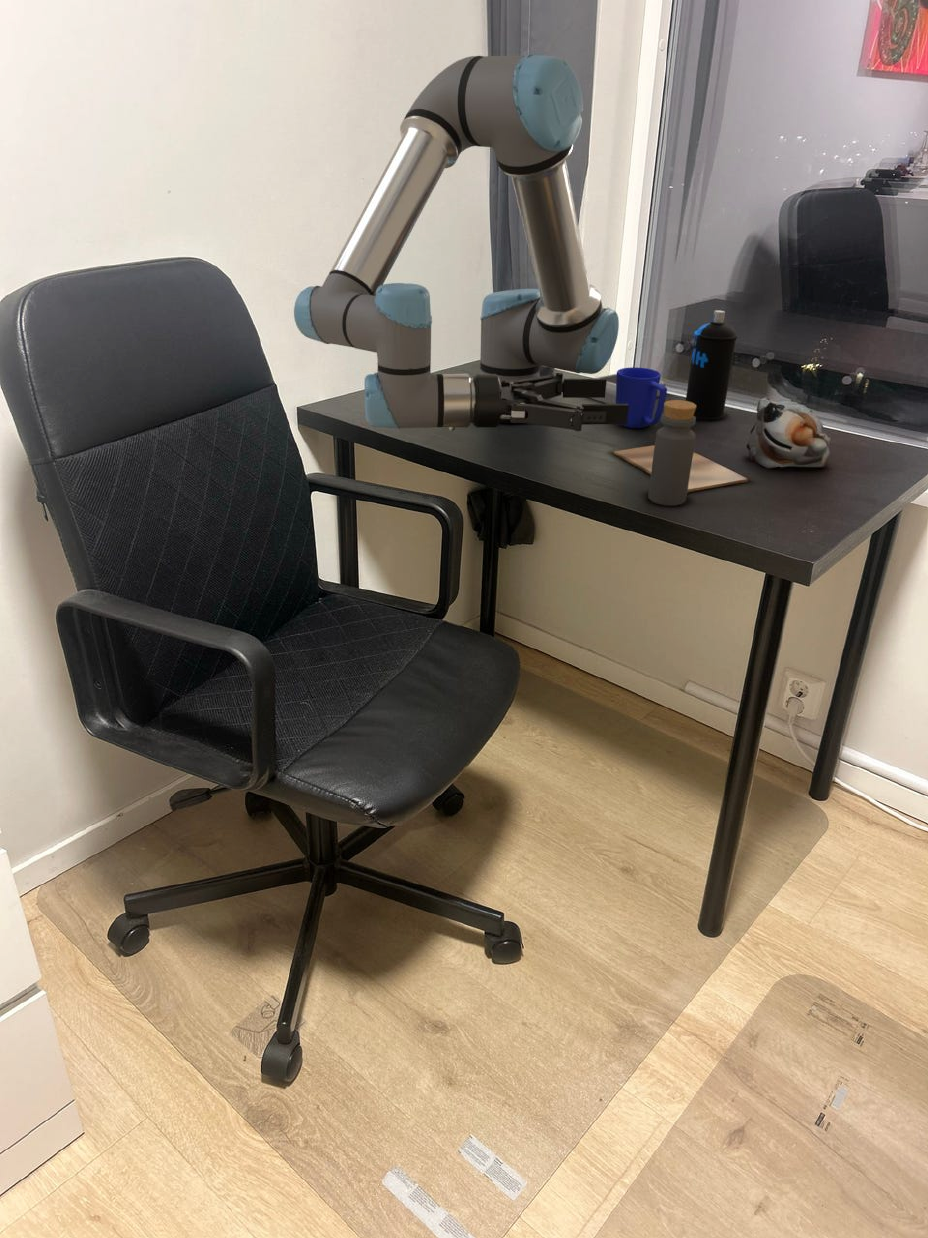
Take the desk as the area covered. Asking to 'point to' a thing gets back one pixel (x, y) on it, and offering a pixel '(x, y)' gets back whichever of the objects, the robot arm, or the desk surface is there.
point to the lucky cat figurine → (787, 436)
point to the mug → (640, 395)
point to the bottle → (673, 454)
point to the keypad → (614, 389)
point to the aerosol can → (711, 368)
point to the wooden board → (700, 475)
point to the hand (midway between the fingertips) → (616, 400)
